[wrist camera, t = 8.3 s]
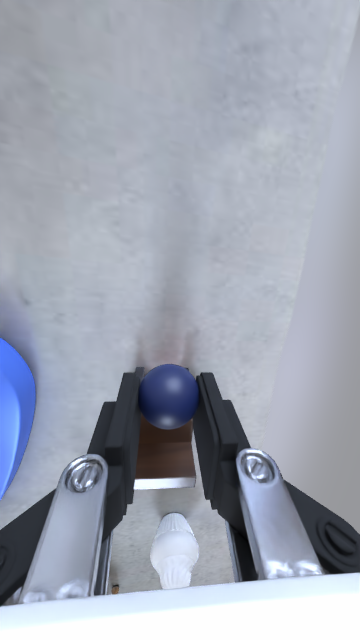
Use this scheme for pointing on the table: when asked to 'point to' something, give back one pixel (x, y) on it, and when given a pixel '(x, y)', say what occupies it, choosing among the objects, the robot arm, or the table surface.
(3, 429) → the location marker
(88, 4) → the table surface
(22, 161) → the table surface
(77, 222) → the table surface
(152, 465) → the brown lever base
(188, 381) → the blue lever handle
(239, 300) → the table surface
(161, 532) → the muffin
